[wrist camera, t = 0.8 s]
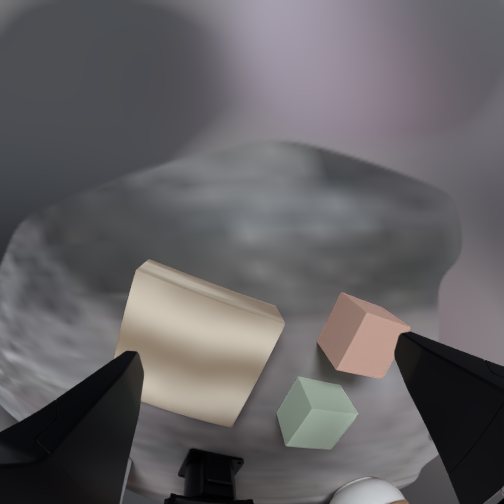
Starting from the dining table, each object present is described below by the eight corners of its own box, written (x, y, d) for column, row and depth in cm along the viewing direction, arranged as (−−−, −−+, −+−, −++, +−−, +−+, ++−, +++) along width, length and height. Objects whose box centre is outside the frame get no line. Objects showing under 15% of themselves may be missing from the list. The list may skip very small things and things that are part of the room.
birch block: (229, 400, 25) (231, 427, 21) (121, 364, 23) (108, 387, 19) (275, 304, 24) (285, 324, 20) (150, 258, 22) (136, 269, 18)
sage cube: (317, 418, 26) (331, 449, 22) (276, 412, 26) (285, 445, 21) (339, 384, 26) (358, 413, 21) (297, 375, 25) (312, 408, 20)
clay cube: (358, 352, 25) (382, 378, 20) (316, 341, 24) (335, 369, 20) (381, 307, 25) (410, 327, 20) (340, 291, 24) (366, 312, 19)
